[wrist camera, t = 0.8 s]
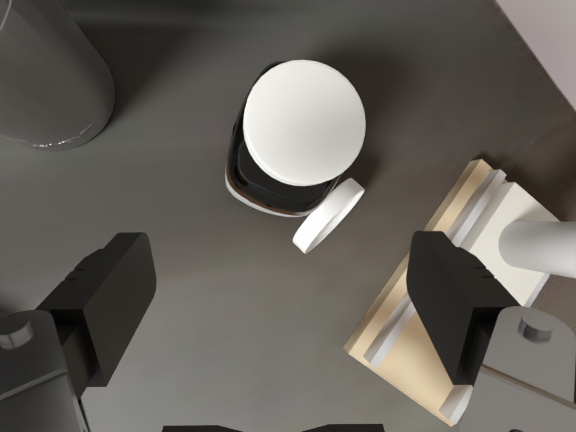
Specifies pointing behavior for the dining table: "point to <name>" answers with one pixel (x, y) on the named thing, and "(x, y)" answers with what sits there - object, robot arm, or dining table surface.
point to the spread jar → (298, 146)
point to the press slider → (521, 241)
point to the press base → (405, 320)
